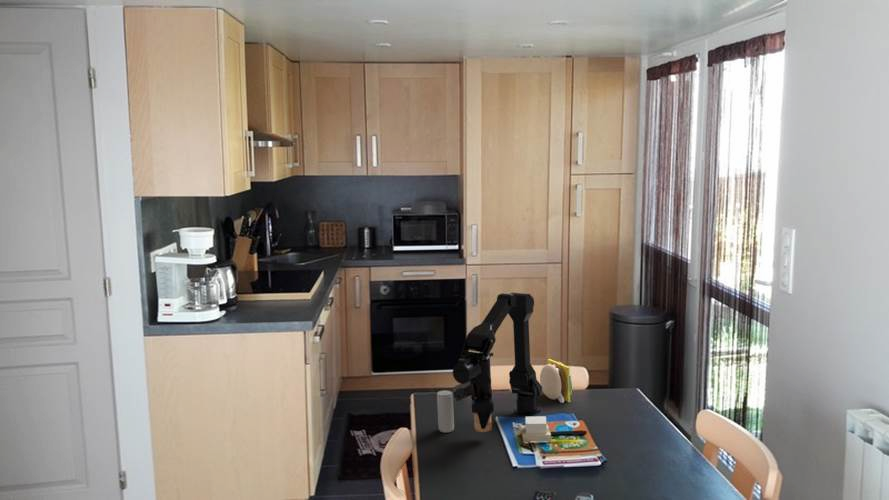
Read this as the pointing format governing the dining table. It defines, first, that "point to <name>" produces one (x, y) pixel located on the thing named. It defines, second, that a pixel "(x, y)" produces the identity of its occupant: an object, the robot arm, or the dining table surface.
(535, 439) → the birch slab
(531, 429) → the white block
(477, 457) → the dining table surface
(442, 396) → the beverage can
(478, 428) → the tan cylinder
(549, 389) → the hamburger
